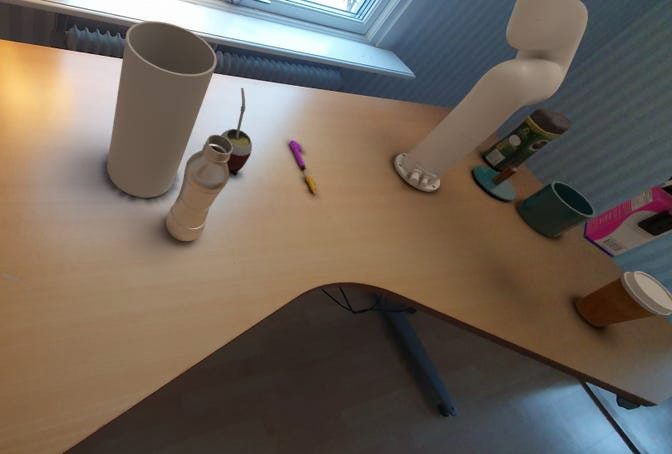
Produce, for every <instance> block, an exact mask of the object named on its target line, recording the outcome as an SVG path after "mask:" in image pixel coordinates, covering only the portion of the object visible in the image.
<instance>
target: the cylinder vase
mask: <svg viewBox="0 0 672 454" xmlns="http://www.w3.org/2000/svg"><path fill="white" fill-rule="evenodd" d="M121 61H122V62H121V69H120V76H119V83H118V90H117V96H116V103H115V112H114V116H113V124H112V131H111V138H110V143H109V144H110V145H109V150H108V158H107V166H106V167H107V168H106V169H107V173H108V176H109V178H110V180H111V182H112V183H113V184H114V185H115V186H116V187H117V188H118V189H119V190H121V191H123V192H124V193H126V194H128V195H130V196H133V197H136V198H137V197H138V198H146V199H147V198H155V197H159V196H161V195H164V194H165V193H167V192H168V191H169V190H170V189H171V187H172V186H173V184H174V182H175V179H176V177H177V174H178V171H179V169H180V165H181V163H182V160H183V158H184V154H185V152H186V149H187V146H188V143H189V141H190V138H191V136H192V133H193V130H194V127H195V125H196V121H197V119H198V116H199V113H200V110H201V109H202V105H203V102H204V99H205V98H206V97H205V96H206V94H207V92H208V89H209V86H210V83H211V79H212V78H213V74H214V72H215V69H216V66H217V63H218V57H217V54H216V52H215V51H214V49H213V47H212V46H211V45H210V44H209V43H208V42H207V41H206V40H205V39H204V38H203V37H200V35H197V34H196V33H194V32H193V31H191V30H189V29H188V28H184V27H183V26H180V25H176V24H173V23H169V22H164V21H154V20H150V21H149V20H148V21H147V20H146V21H141V22H138V23H135V24H133V25H132V26H130V27H129V28H128V29H127V32H126V35H125V40H124V49H123V56H122V60H121Z"/></svg>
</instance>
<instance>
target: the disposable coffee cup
mask: <svg viewBox="0 0 672 454" xmlns="http://www.w3.org/2000/svg"><path fill="white" fill-rule="evenodd" d="M575 307H576V309H577V311H578V313H579V315H580V316H581V317H582V318H583V319H584V320H585V321H587V323H589V324H590V325H592V326H593V327H594V326H595V327H599V328H601V327H605V326H609V325H614V324H621V323H624V322H625V323H626V322H630V321H635V320H641V319H645V318H650V317H657V316H669V315H671V314H672V293H670V291H669V290H668V289H667V288H666V287H665V286H664V285H663V284H662V283H661V282H659V281H658V280H657V279H656V278H654V277H653V276H651V275H649V274H648V273H646V272H644V271H641V270H636V271H626V272H624V273H623V274H622V275H621V276H620V277H619V278H617V279H615V280H614V281H610V282H609V283H607V284H606V285H604V286H602V287H599V288H598V289H596V290H594V291H592V292H591V293H589V294H587V295H585V296H583V297H581V298H579V299H577V300H575Z"/></svg>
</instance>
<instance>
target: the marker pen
mask: <svg viewBox="0 0 672 454" xmlns="http://www.w3.org/2000/svg"><path fill="white" fill-rule="evenodd" d="M289 145H290V147H291V150H292V151H293V153H294V155H295V157H296V160H297V162H298V164H299V167H300V168H301V170H302V171H304V173H305V175H306V178H305V181H306V183H307V184H308V186H309V188H310V190H311V191H310V192H312V193H313V194H314V195H317V194H318V193H317V188H316V186H315V184H314V181H313V178H312V176H309V175H308V173H307V171H306V170H307V167H306V164H305V162H304V160H303V157H302V155H301V153H300V152H302V151H303V150H302V147H301V145H300V144H298V143H297V141H295V140H290V142H289Z"/></svg>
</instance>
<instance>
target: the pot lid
mask: <svg viewBox="0 0 672 454" xmlns="http://www.w3.org/2000/svg"><path fill="white" fill-rule="evenodd" d="M472 171H473V176H474V178H475V180H476V181H477V182H478V183H479V185H480V186H481V187H482V188H483V189H484V190H486V191H487V192H488V193H489V194H491V195H493V196H494V197H496V198H498V199H500V200H503V201H508V202H509V201H513V200H515V199H516V197H517V193H516V190H515V188H514V187H513V185H512V184H511V183H510V182H509V180H508V179H509V178H511V177H513V176H514V175H515V174H517V173H518V172H519V170H518V167H517V168H515V167H514V166H512V165H510V166H509V167H507V168H506V169H505V170H503V171H500V172H498V171H496V169H493V168H491V167H488V166H485V165H477V166H475V167H474V168H473V170H472Z"/></svg>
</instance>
